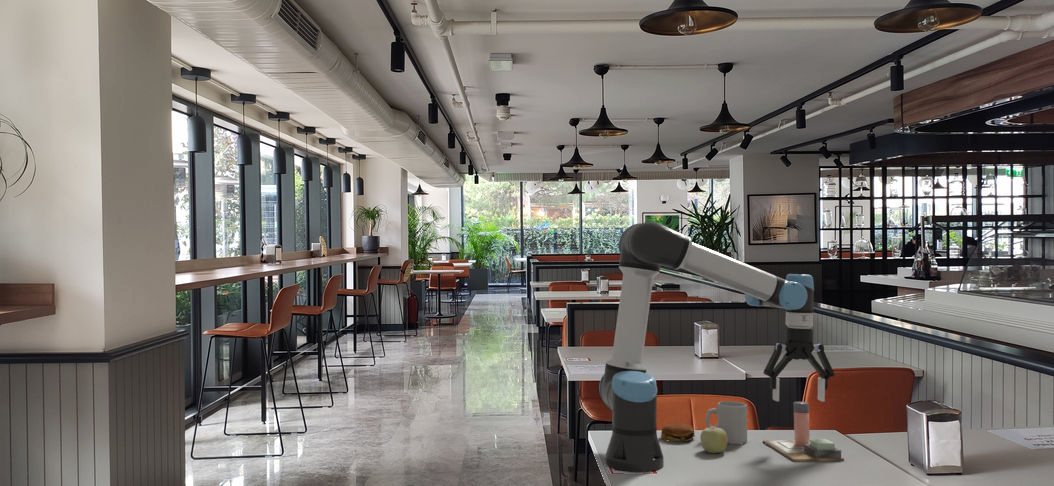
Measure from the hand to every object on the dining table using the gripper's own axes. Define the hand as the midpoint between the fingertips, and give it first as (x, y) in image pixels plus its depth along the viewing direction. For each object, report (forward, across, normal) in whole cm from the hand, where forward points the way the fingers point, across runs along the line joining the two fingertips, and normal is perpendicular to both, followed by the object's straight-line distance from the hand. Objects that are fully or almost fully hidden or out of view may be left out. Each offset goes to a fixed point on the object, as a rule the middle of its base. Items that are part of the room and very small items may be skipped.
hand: (798, 400), depth 204 cm
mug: (+14, -18, +8) cm, 24 cm away
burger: (+14, -32, +11) cm, 37 cm away
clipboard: (+13, -1, -5) cm, 14 cm away
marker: (+12, +1, -1) cm, 12 cm away
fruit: (+14, -26, -4) cm, 30 cm away
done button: (+11, +2, -11) cm, 15 cm away
